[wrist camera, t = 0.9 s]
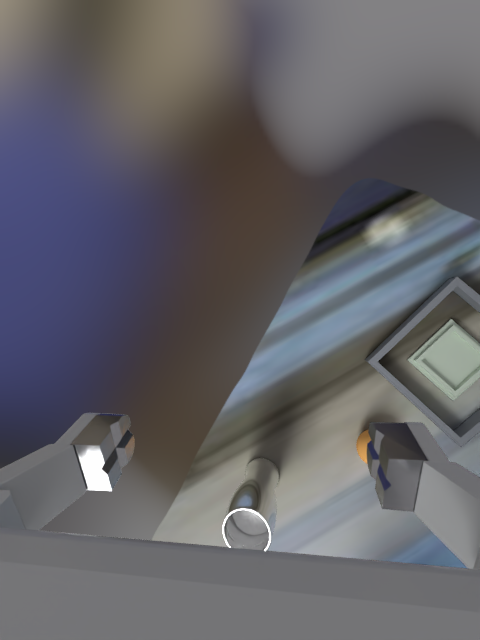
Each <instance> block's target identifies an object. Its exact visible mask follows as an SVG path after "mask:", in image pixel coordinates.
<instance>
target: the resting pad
mask: <svg viewBox="0 0 480 640" xmlns="http://www.w3.org/2000/svg"><path fill="white" fill-rule="evenodd" d="M407 360H408V361H409V362H410V363H411V364H412V365H413V366H415V367H416V368H417V369H418V370H419V371H420V372H421V373H422V374H423V375H425V376H426V377H427V378H428V379H429V380H430V381H431V382H432V383H433V384H435V385H436V386H437V387H438V388H439V389H440V390H441V391H442V392H444V393H445V394H446V395H447V396H448V397H449V398H450V399H451V400H453V401H454V400H455V399H456V398H457V397H458V396H459V395H461V394H462V393H463V392H464V391H465V390H466V389H467V388H468V387H470V386H471V385H472V384H473V383H474V382H475V381H476V380H478V379H479V378H480V343H479V342H478V341H476V340H475V339H474V338H473V337H472V336H471V335H469V334H468V333H467V332H466V331H465V330H464V329H462V328H461V327H460V326H459V325H458V324H456V323H455V322H454V321H453V320H452V319H450V320H449V321H448V322H447V323H445V324H444V325H443V326H442V327H441V328H440V329H439V330H438V331H437V332H436V333H435V334H434V335H433V336H432V337H431V338H429V339H428V340H427V341H426V342H425V343H424V344H423V345H422V346H421V347H420V348H419V349H418V350H417V351H416V352H414V353H413V354H412V355H411V356H410V357H409V358H408V359H407Z"/></svg>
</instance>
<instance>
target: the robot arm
mask: <svg viewBox="0 0 480 640" xmlns="http://www.w3.org/2000/svg"><path fill="white" fill-rule="evenodd" d="M130 425H131V423H130V419H129V416H127V415H123V414H105V413H100V414H99V413H86V414H83V415H82V416H81V417H80V418H79V419H78V420H77V421H76V422H75V423H74V424H73V425H72V426H71V427H70V428H69V429H68V431H67V432H66V433H65V434H64V435H63V436H62V437H61V438H60V439H59V440H58V441H57V442H56V443H55V444H49V445H47V446H46V447H43V448H41V449H39V450H37V451H36V452H33V453H31V454H29V455H28V456H26V457H23V458H21V459H19V460H17V461H16V462H14V463H11V464H9V465H7V466H6V467H3V468H1V469H0V640H480V477H478V476H476V475H475V474H473V473H472V472H470V471H468V470H467V469H465V468H464V467H462V466H460V465H459V464H457V463H454V462H450V461H449V460H448V458H447V457H446V455H445V454H444V453H443V451H442V450H441V448H440V447H439V445H438V444H437V442H436V441H435V439H434V438H433V436H432V435H431V433H430V432H429V430H428V429H427V428H426V426H425V425H424V424H423V423H418V422H404V423H385V422H370V425H369V431H368V433H369V436H370V439H371V441H370V442H369V443H368V444H367V463H368V468H369V471H370V474H371V476H372V477H373V478H374V479H375V480H376V486H375V489H376V492H377V495H378V498H379V501H380V504H381V507H382V509H390V510H401V511H411V512H414V514H415V515H416V516H417V517H418V518H419V519H420V520H421V521H422V522H423V523H424V524H425V525H426V526H427V527H428V528H429V529H430V530H431V531H432V532H433V533H434V534H435V535H436V536H437V537H438V538H439V539H440V540H441V541H442V542H443V543H444V544H445V545H446V546H447V548H448V549H449V550H450V551H451V552H452V553H453V554H454V555H455V556H456V557H457V558H458V559H459V560H460V561H461V562H462V563H463V564H464V565H465V566H466V567H467V568H468V569H467V568H456V567H445V566H434V565H422V564H411V563H400V562H388V561H377V560H366V559H355V558H343V557H332V556H321V555H310V554H298V553H287V552H276V551H264V550H253V549H242V548H231V547H219V546H208V545H197V544H186V543H174V542H163V541H152V540H140V539H129V538H118V537H106V536H95V535H83V534H71V533H61V532H50V531H39V530H40V529H41V528H42V527H43V526H44V525H46V524H47V523H48V522H49V521H51V520H52V519H53V518H54V517H55V516H57V515H58V514H59V513H61V512H62V511H63V510H64V509H66V508H67V507H68V506H69V505H71V504H72V503H73V502H74V501H75V500H77V499H78V498H79V497H81V496H82V495H83V494H84V493H86V492H87V490H107V491H112V489H113V488H114V486H115V484H116V483H117V481H118V479H119V478H120V476H121V474H122V473H121V468H122V467H123V466H125V465H126V464H128V463H129V461H130V459H131V457H132V454H133V451H134V436H133V434H132V433H131V432H130V431H129V430H128V428H129V427H130Z"/></svg>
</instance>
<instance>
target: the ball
mask: <svg viewBox="0 0 480 640" xmlns="http://www.w3.org/2000/svg"><path fill="white" fill-rule="evenodd" d="M368 431H369V430H366V431H364V432H362V433H361V434H360V436H359V437H358V439H357V445H356V446H357V451H358V454H359V456H360V457H361V459H362V460H363V461H364V462H365V463H367V444H368V443H369V442H370V441H371V439H370V436H369V433H368ZM367 464H368V463H367Z"/></svg>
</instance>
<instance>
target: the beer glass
mask: <svg viewBox="0 0 480 640" xmlns="http://www.w3.org/2000/svg"><path fill="white" fill-rule="evenodd" d="M278 482H279V472H278V469H277V467H276V466H275V465H274V464H273V463H272V462H271V461H270V460H268V459H265V458H256V459H254V460H252V461H251V462H249V464H248V465H247V467H246V470H245V479H244V480H243V481H242V483H241V484H240V485H239V486H238V488H237V489H236V491H235V492H234V494H233V496H232V498H231V500H230V502H229V505H228V508H227V512H226V515H225V519H224V522H223V526H222V532H223V537H224V540H225V542H226V544H227V545H228V547H231V548H242V549H253V550H264V551H267V550H268V548H269V546H270V544H271V540H272V535H273V532H274V528H275V523H276V515H277V504H276V495H275V488H276V487H277V485H278Z"/></svg>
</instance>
